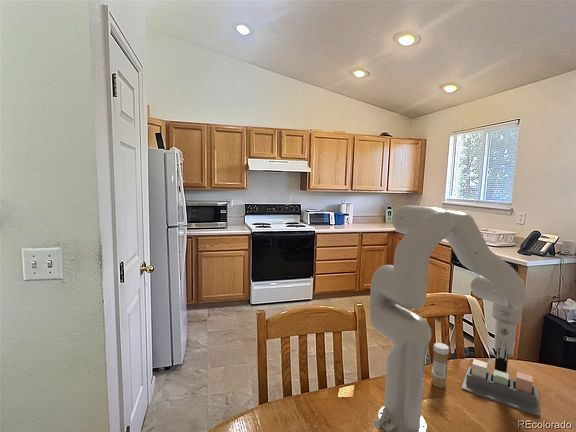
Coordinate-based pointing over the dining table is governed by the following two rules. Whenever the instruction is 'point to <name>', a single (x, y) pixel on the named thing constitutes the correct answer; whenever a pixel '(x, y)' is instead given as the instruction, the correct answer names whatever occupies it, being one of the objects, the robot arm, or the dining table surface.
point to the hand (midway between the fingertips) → (500, 369)
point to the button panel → (502, 392)
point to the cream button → (479, 369)
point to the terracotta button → (524, 383)
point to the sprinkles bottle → (440, 365)
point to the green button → (500, 378)
